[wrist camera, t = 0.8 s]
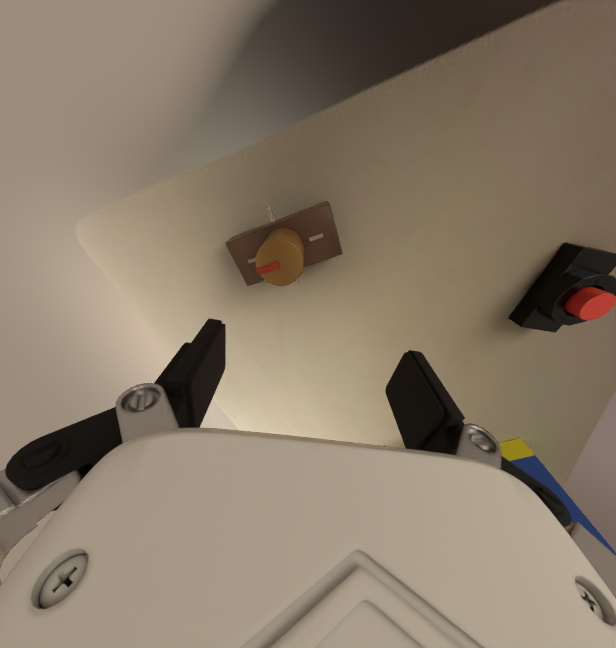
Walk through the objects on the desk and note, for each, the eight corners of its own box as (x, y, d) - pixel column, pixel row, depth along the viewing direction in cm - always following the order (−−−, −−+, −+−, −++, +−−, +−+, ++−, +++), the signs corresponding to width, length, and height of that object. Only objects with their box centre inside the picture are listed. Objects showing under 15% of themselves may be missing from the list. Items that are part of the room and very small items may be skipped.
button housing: (560, 241, 26) (598, 251, 22) (607, 251, 26) (651, 261, 23) (504, 317, 31) (528, 334, 27) (544, 324, 31) (573, 341, 28)
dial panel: (322, 183, 23) (324, 183, 20) (343, 261, 27) (346, 268, 24) (224, 222, 24) (215, 227, 22) (257, 289, 29) (253, 299, 26)
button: (579, 284, 24) (597, 291, 23) (605, 289, 25) (624, 296, 23) (557, 310, 26) (572, 318, 25) (581, 314, 26) (598, 322, 25)
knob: (295, 221, 22) (293, 232, 18) (309, 260, 24) (309, 279, 20) (258, 235, 23) (246, 249, 18) (274, 272, 25) (266, 293, 20)
